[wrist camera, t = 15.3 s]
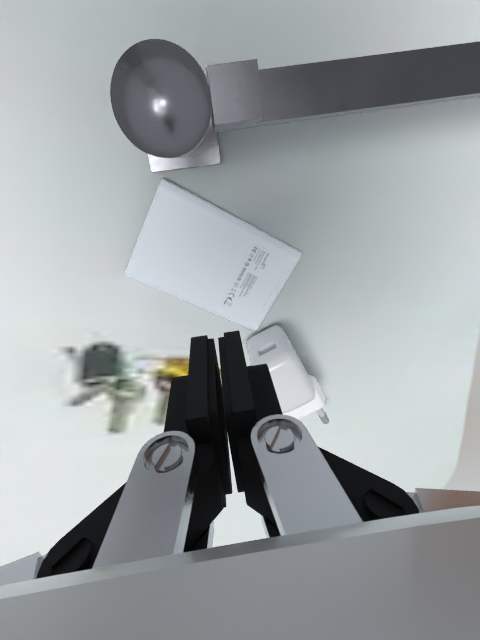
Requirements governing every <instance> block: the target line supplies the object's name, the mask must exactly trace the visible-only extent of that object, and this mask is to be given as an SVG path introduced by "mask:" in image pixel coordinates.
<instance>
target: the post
mask: <svg viewBox="0 0 480 640" xmlns="http://www.w3.org/2000/svg"><path fill="white" fill-rule="evenodd" d="M148 157H149V162H150V167H151V171H152V172H157V171H165V170H173V169H181V168H189V167H197V166H205V165H214V164H221V161H220V153H219V145H218V137H217V132H214V133H213V130H212V122H211V119H210V124H209V128H208V131H207V133H206V135H205V137H204V139H203V140H202V142H201V143H200V144H199V145H198V146H197V148H196V149H194V150H193V151H192V152H190V153H188V154H187V155H184V156H182V157H178V158H160V157H156V156H153V155H150V154H148Z"/></svg>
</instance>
